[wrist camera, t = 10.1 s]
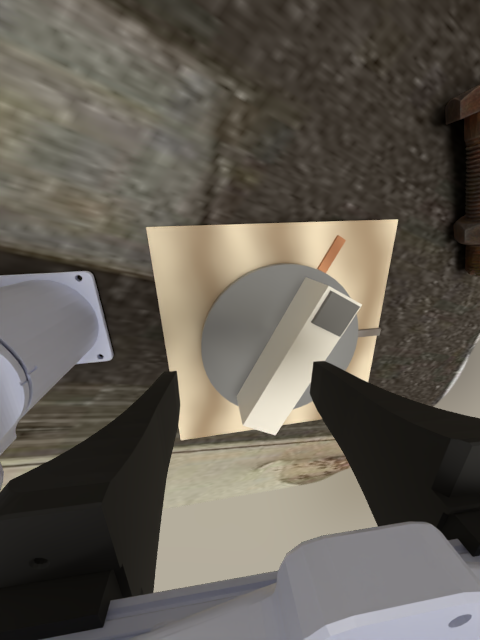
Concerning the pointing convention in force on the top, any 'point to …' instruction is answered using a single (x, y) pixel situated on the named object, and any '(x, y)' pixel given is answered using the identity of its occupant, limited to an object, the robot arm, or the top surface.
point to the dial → (276, 339)
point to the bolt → (469, 174)
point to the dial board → (235, 261)
